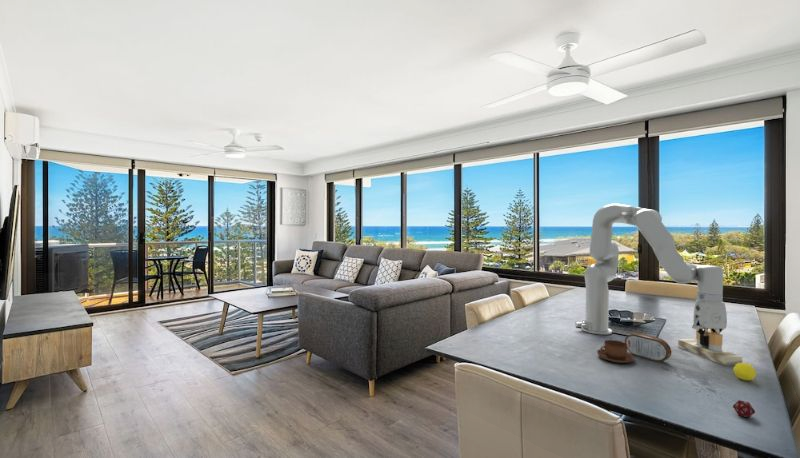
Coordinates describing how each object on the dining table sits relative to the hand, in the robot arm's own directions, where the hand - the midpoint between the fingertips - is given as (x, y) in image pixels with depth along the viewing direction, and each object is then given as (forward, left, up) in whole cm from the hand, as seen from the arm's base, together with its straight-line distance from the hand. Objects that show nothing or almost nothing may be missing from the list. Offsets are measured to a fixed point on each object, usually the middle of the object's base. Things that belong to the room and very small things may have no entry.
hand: (708, 344), depth 144 cm
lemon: (-8, -21, -4) cm, 23 cm away
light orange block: (0, 0, -2) cm, 2 cm away
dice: (-32, -43, -4) cm, 54 cm away
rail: (0, 0, -4) cm, 4 cm away
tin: (-26, -1, -4) cm, 26 cm away
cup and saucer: (-39, -2, -5) cm, 39 cm away
